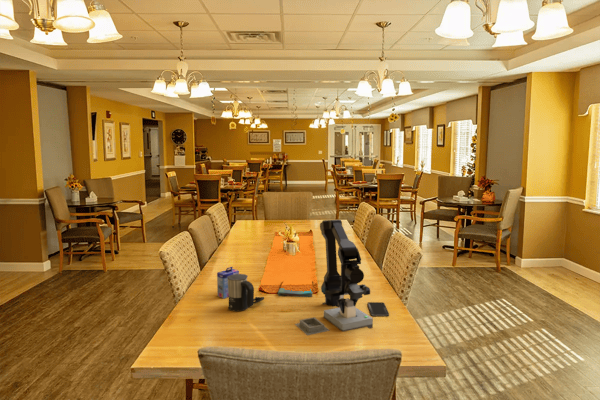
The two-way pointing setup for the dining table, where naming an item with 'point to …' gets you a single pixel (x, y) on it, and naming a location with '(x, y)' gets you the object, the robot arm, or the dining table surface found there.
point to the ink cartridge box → (224, 282)
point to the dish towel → (294, 293)
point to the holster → (311, 326)
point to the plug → (349, 309)
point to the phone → (378, 309)
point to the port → (348, 320)
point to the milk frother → (241, 293)
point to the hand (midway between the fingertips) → (347, 312)
